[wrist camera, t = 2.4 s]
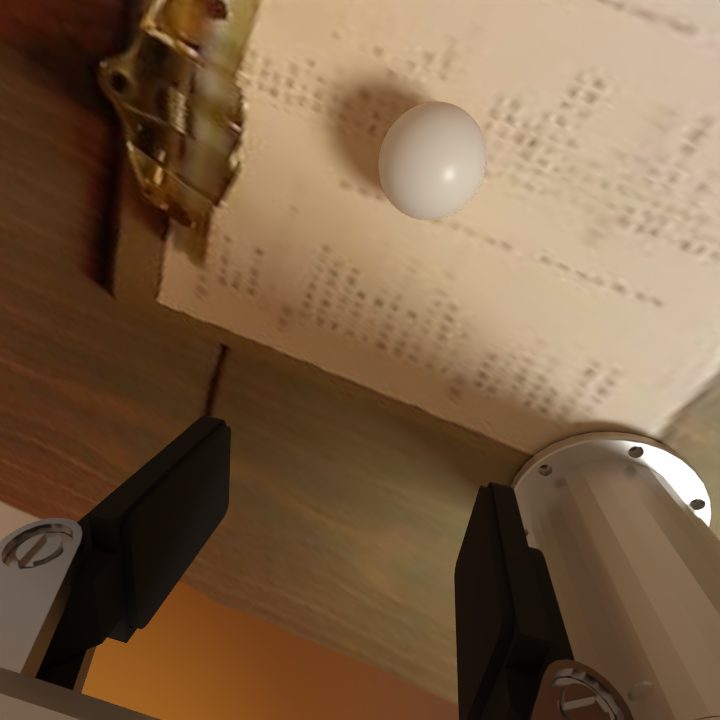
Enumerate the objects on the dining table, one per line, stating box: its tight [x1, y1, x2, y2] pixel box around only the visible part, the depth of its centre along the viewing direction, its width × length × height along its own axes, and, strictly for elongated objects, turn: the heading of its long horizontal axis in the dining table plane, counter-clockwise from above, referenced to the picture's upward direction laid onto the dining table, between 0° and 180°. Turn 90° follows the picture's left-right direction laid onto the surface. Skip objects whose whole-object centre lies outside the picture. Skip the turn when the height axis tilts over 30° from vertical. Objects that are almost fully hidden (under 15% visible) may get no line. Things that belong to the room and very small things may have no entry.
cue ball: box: [378, 102, 487, 220], centre depth 21 cm, size 6×6×6 cm
